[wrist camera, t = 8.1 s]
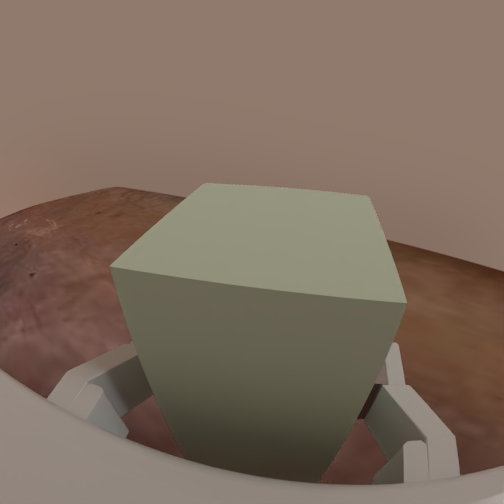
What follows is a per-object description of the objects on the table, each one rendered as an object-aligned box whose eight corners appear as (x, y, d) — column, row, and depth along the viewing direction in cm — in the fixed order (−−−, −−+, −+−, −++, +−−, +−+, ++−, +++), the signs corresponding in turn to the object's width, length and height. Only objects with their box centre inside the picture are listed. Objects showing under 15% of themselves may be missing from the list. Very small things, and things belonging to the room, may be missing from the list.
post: (319, 409, 12) (368, 196, 8) (307, 497, 9) (407, 303, 4) (224, 395, 13) (204, 183, 8) (195, 477, 9) (109, 266, 5)
